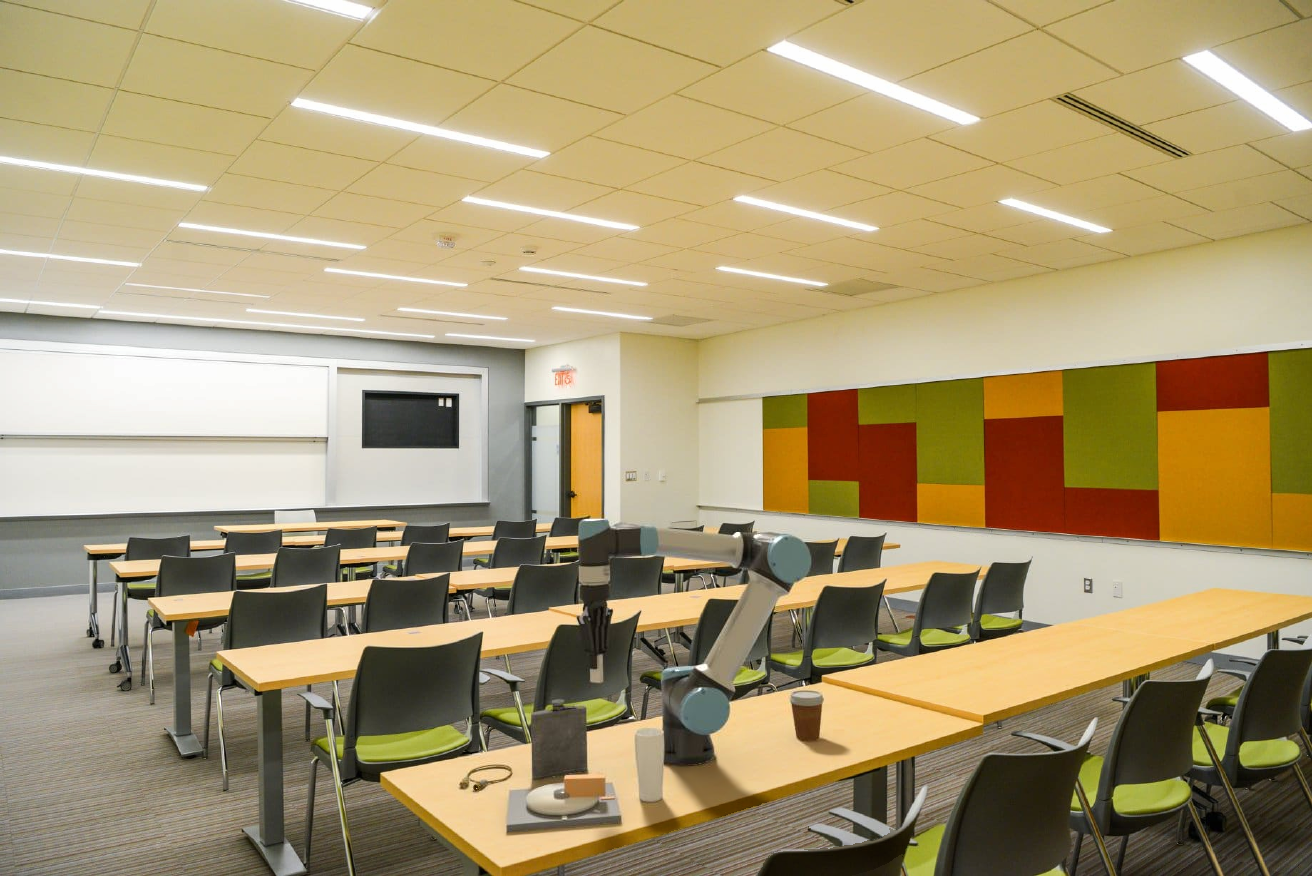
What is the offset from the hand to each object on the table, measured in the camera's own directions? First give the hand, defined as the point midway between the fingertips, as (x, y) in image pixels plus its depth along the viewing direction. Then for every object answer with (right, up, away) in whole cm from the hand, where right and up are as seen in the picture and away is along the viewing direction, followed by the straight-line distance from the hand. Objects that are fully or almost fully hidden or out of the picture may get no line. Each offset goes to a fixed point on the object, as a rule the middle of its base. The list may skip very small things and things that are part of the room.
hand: (596, 681), depth 202 cm
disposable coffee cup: (+56, -25, +31) cm, 69 cm away
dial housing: (-6, -24, -15) cm, 29 cm away
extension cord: (-28, -26, +6) cm, 39 cm away
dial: (-6, -22, -15) cm, 27 cm away
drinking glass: (+13, -24, -11) cm, 29 cm away
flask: (-10, -25, +7) cm, 28 cm away
